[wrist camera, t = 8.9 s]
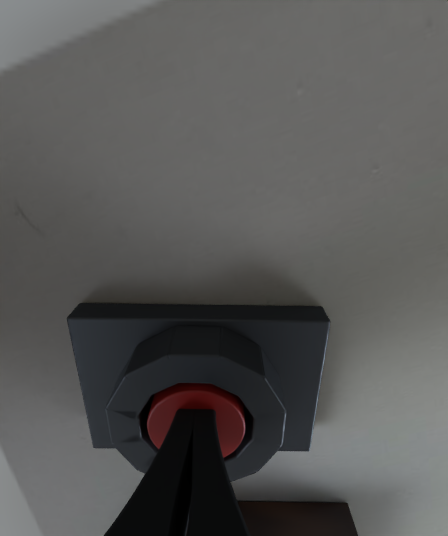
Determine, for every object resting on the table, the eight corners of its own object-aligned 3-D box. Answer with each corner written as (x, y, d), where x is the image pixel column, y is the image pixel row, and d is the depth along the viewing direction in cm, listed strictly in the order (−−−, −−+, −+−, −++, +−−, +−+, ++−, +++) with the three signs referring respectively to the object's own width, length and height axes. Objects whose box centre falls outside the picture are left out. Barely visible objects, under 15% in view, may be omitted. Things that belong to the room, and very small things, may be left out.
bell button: (159, 425, 14) (150, 463, 12) (153, 357, 13) (142, 390, 11) (241, 426, 14) (244, 464, 12) (244, 359, 13) (247, 392, 11)
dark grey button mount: (102, 427, 16) (75, 489, 13) (79, 302, 13) (39, 346, 10) (304, 430, 16) (321, 493, 13) (322, 305, 13) (348, 351, 10)
